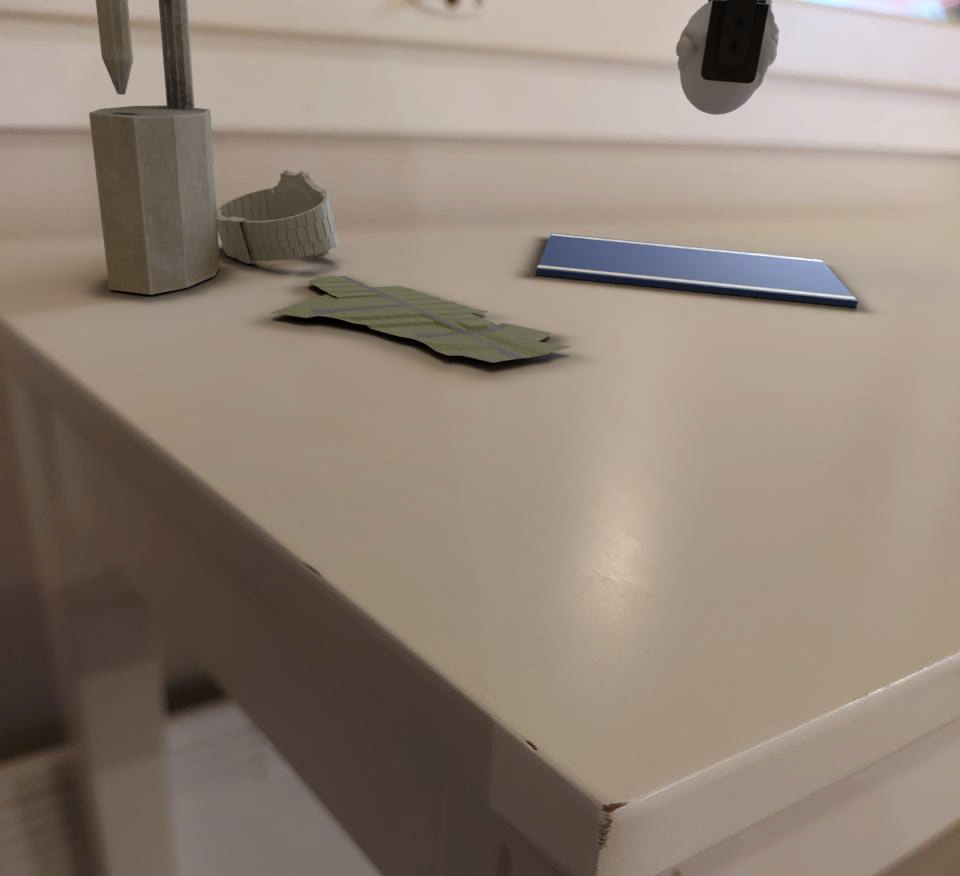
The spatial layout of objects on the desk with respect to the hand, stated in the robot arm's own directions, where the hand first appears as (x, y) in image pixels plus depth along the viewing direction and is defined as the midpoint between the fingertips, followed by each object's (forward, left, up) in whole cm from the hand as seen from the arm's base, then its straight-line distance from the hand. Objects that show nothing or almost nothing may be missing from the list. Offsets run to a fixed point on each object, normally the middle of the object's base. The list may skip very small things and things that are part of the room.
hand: (722, 76), depth 63 cm
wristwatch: (+26, +10, -12) cm, 30 cm away
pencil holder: (+30, +18, -12) cm, 37 cm away
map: (+16, +22, -12) cm, 30 cm away
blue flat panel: (0, 0, -12) cm, 12 cm away
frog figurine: (0, 0, -2) cm, 2 cm away
